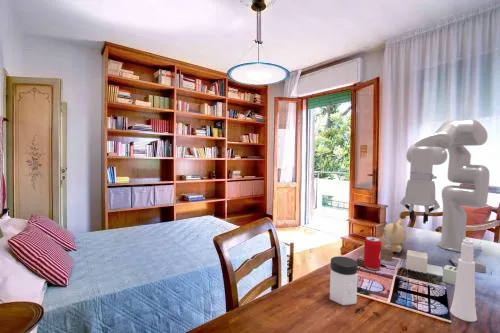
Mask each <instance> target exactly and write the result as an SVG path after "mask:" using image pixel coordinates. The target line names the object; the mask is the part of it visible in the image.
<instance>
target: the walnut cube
mask: <svg viewBox="0 0 500 333" xmlns="http://www.w3.org/2000/svg"><path fill="white" fill-rule="evenodd" d="M393 255H394V254H393V249H392V246H386V245H384V244H381V260H382V259H385V260H384V261H388V260H392V261H393Z"/></svg>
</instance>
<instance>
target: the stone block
mask: <svg viewBox="0 0 500 333" xmlns="http://www.w3.org/2000/svg"><path fill="white" fill-rule="evenodd" d="M448 258H449V259H450V260H451V263H452V264H453V265H454V267H458V260H459V259H460V258H461V253H460V254H459V253H456V254H451V255H449V256H448ZM473 262H475V273H481V274H486V273H487V264H486V263H485V262H484V261H482V260H481V259H479V260H478V259H476V258H475V257H474V256H473Z"/></svg>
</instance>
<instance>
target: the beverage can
mask: <svg viewBox="0 0 500 333" xmlns="http://www.w3.org/2000/svg"><path fill="white" fill-rule="evenodd" d="M381 245H382V241H381V239H380V238H379V237H376V236H366V237H365V240H364V246H363V247H364V249H363V266H364V267H365V268H366V269H369V270H373V271H378V270H380V269H381V266H382V265H381V263H382V259H381Z"/></svg>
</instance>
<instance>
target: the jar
mask: <svg viewBox="0 0 500 333" xmlns="http://www.w3.org/2000/svg"><path fill="white" fill-rule="evenodd" d="M358 270H359V264H358V262H357V261H356V260H355V259H353V258H351V257H346V256H339V255H338V256H334V257H332V258H330V275H329V277H330V278H329V281H330V282H329V300H330V301H333V302H335V303H337V304H339V305H341V306H349V305H356V304H357V296H358V295H357V294H358Z"/></svg>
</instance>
